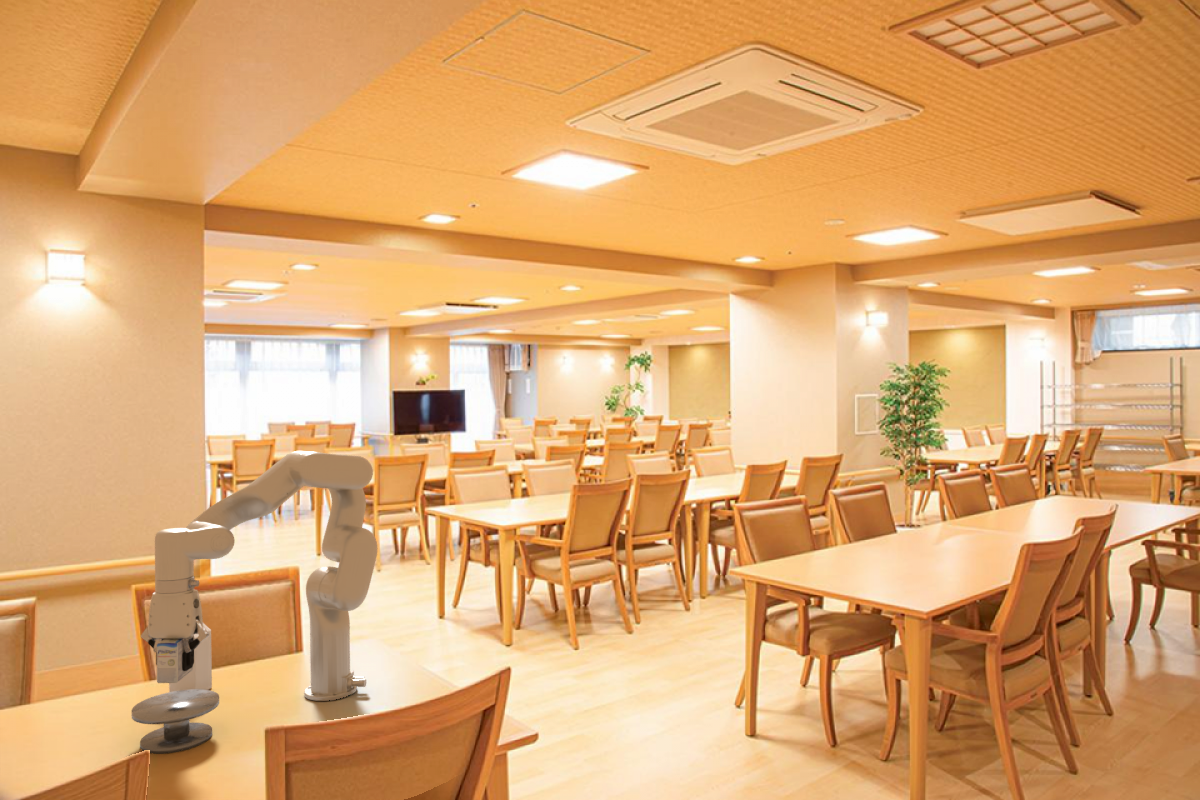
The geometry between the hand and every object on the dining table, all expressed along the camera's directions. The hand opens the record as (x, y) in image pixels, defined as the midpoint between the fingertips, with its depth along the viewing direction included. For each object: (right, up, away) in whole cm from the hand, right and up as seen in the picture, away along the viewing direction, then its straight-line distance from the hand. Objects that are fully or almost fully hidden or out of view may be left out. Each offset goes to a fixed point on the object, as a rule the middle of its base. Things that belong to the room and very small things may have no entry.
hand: (175, 668), depth 178 cm
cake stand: (0, -16, 0) cm, 16 cm away
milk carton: (-11, -16, +29) cm, 35 cm away
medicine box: (0, -2, 0) cm, 2 cm away
